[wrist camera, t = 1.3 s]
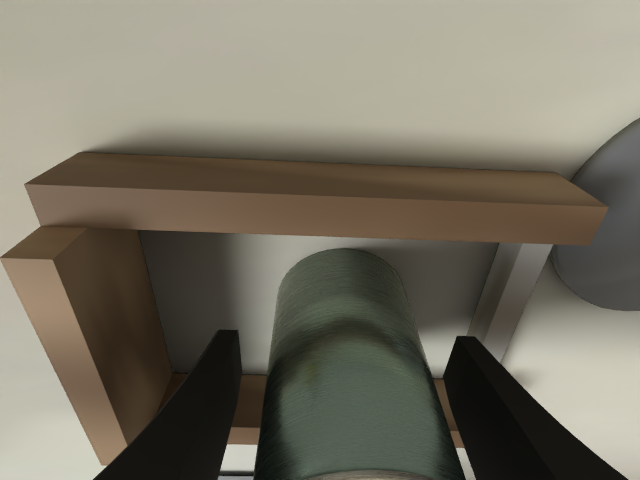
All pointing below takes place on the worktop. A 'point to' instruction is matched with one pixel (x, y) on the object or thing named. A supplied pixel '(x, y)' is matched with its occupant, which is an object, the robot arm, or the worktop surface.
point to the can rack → (252, 218)
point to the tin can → (350, 380)
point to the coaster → (609, 228)
